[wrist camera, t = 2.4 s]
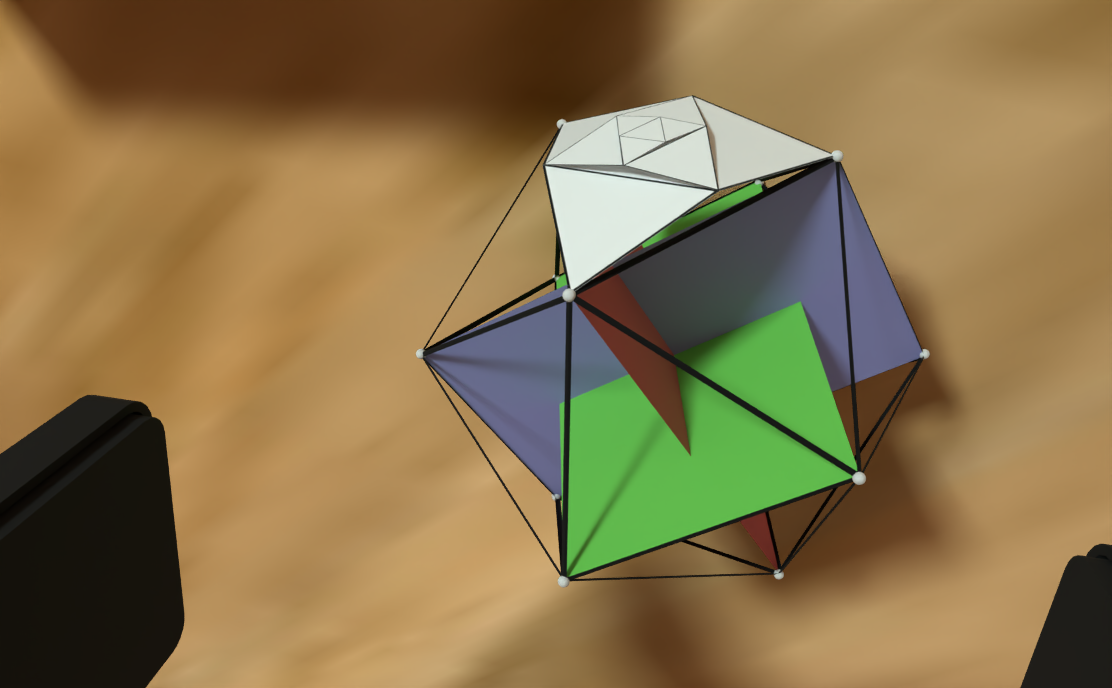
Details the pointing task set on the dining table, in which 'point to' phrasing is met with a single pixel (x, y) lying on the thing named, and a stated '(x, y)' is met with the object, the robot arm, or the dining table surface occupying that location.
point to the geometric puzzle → (685, 335)
